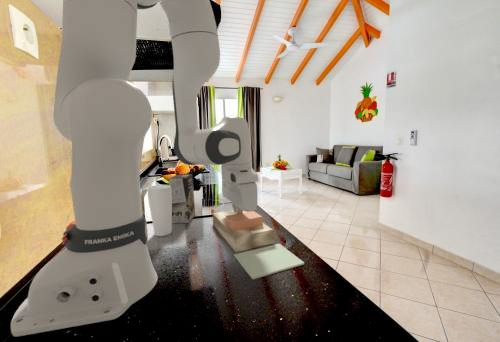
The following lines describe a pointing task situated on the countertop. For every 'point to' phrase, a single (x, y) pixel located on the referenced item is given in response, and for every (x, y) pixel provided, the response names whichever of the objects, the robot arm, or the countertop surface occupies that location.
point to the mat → (267, 260)
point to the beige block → (242, 233)
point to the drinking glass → (161, 209)
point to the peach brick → (244, 220)
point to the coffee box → (182, 198)
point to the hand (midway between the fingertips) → (238, 217)
